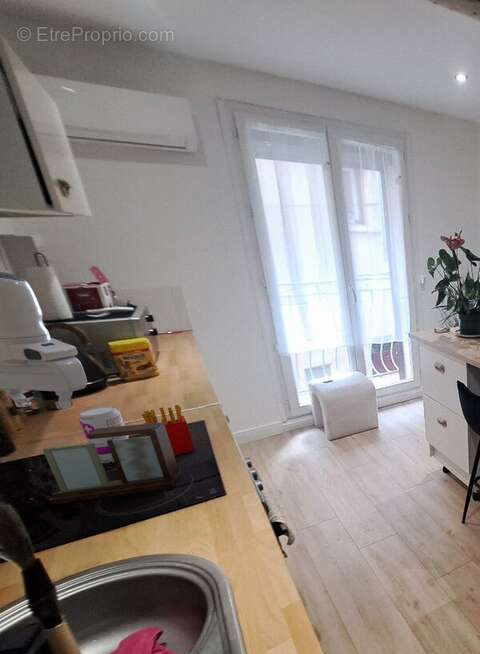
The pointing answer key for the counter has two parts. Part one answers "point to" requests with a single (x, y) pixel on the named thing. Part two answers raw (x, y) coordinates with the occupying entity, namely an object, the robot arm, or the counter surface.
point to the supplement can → (101, 419)
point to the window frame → (132, 463)
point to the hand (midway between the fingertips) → (44, 407)
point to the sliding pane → (76, 467)
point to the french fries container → (173, 429)
